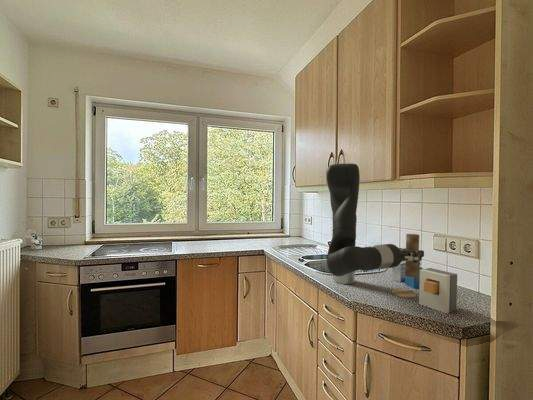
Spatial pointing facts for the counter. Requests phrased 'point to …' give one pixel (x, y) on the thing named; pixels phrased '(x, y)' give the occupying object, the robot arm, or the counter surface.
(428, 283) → the button
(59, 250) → the counter surface
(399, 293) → the stand
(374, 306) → the counter surface
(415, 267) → the brown wooden cylinder
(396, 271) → the medicine box
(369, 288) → the counter surface
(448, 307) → the box
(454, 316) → the counter surface
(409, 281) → the perfume bottle
